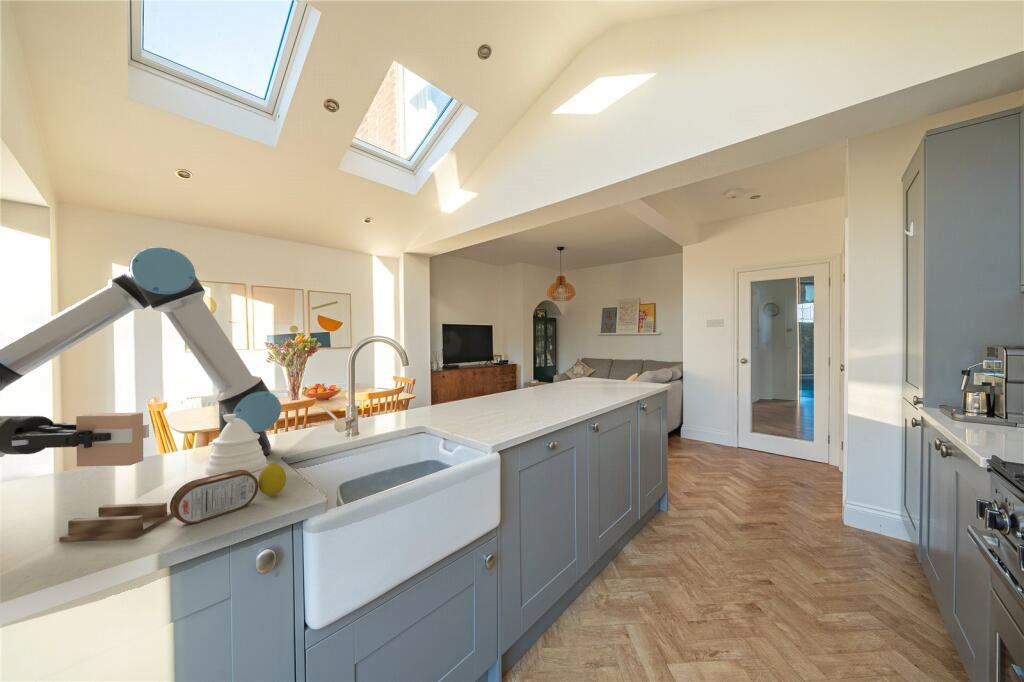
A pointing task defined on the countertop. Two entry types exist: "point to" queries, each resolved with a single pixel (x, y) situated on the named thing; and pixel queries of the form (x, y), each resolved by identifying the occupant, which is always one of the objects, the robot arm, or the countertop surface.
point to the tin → (213, 496)
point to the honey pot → (236, 449)
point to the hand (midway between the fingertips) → (138, 433)
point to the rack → (117, 522)
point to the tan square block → (111, 451)
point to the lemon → (272, 479)
